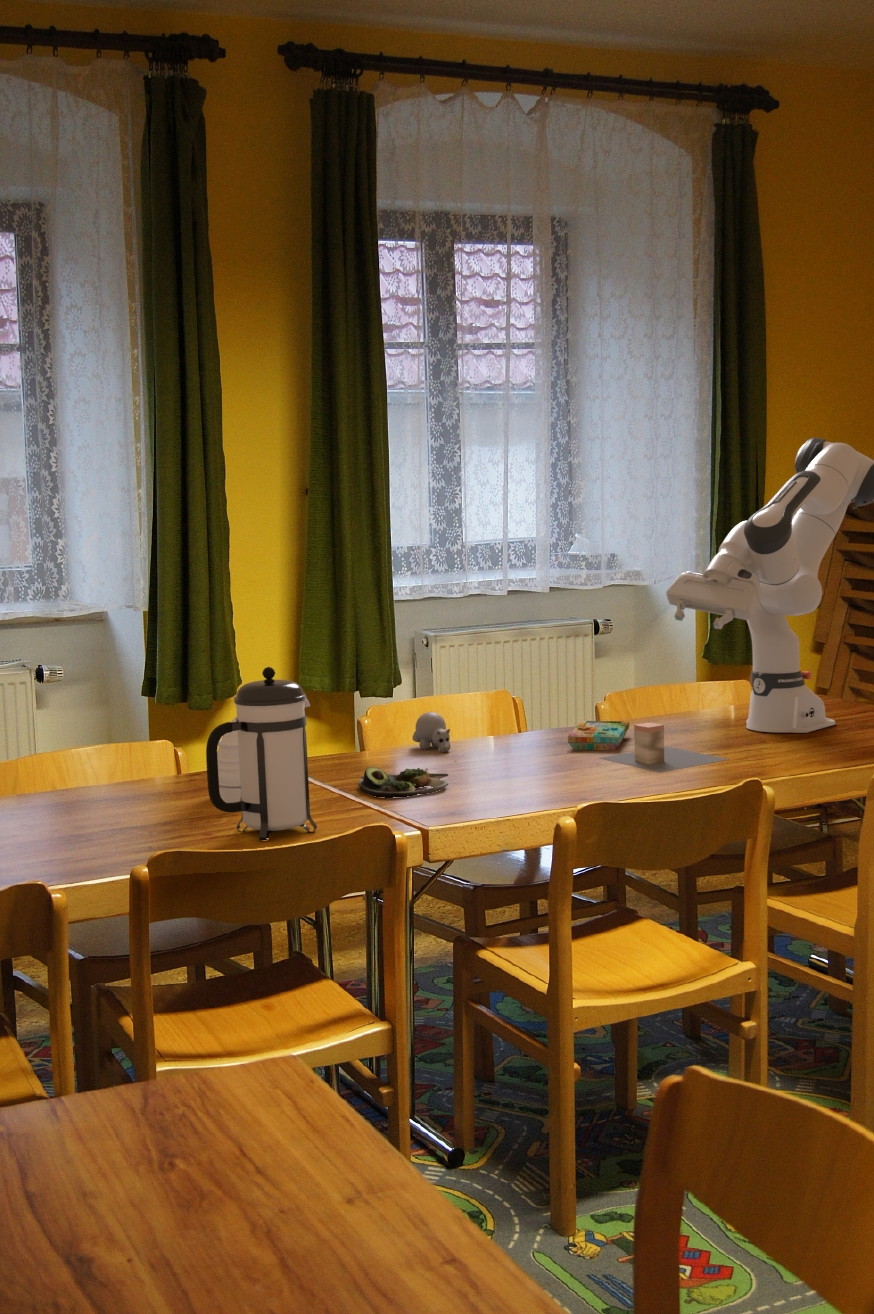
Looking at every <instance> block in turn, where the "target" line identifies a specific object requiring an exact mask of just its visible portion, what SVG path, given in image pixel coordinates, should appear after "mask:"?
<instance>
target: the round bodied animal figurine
mask: <svg viewBox="0 0 874 1314" xmlns="http://www.w3.org/2000/svg"><path fill="white" fill-rule="evenodd" d="M446 725H447V724H446V721H445V719H444V717H443V716H441V714H439V713H437V712H435V711H429V712H425V713H422V714H421V715H420V716H419V717H418V718H417V721H416V722H415V730H414V732H413V734H412V740H413V741H414V742H415V743H419V744H418V745H419V748H420V749H421V750H426V751H427V750H429V749H430V748H431V747H433V748H436V749H439V750H440V752H442V753H448V752H449V751H450V750H451V742H450V739H451V736H450V732H451V729H450V728H449V729H448V728H447V726H446Z"/></svg>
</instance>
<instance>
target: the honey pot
mask: <svg viewBox="0 0 874 1314" xmlns="http://www.w3.org/2000/svg"><path fill="white" fill-rule="evenodd" d="M236 718H237V715H236V716H235V717H234V718H233V719H232V720H230V722H236ZM217 759H218V777H219V792H220V796H221V798H222V800H223V801H224V802H227V803H233V802H239V801H241V800H240V798H241V783H240V764H239V746H238V730H237V731H232V732H229V733H226V734H224V735H223V736H222V737H221V739H220V740H219V743H218V748H217Z"/></svg>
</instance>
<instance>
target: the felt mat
mask: <svg viewBox="0 0 874 1314" xmlns="http://www.w3.org/2000/svg"><path fill="white" fill-rule="evenodd" d="M599 759H600V760H605V761H608V762H609V761H610V762H613V763H616V764H617V763H618V764H620V765H621V764H623V765H627V766H629V767H630V766H631V767H635V768H639V769H643V770H647V771H652V772H656V773H664V772H665V773H666V772H671V771H676V770H680V769H687V768H692V767H697V766H702V765H708V764H712V763H719V762H723V761H728V760H730V759H729V758H724V757H720V756H716V755H715V756H714V755H710V754H705V753H700V752H696V751H690V750H686V749H681V748H676V747H672V746H667V745H666V746H665V745H664V761H663V762H658V763H652V764H646V763H641V762H637V761H635V751H632V752H631V751H630V752H625V753H620V754H614V755H609V756H603V757H599Z"/></svg>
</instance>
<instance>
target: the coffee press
mask: <svg viewBox="0 0 874 1314" xmlns="http://www.w3.org/2000/svg"><path fill="white" fill-rule="evenodd" d="M261 674H262V677H264V678H265V679H263V680H261V679H260V680H255V681H251V682H250V681H249V682H247V683H245V684H243V685H242V686H240V687H239V688H238V690H237V692H236V696H234V697H233V703H234V704H235V707H236V716H237V718H236V722H231V721H227V722H223V723H220V724H218V725H217V726H216V727H214V729H212V730H211V732H210V734H209V736H208V738H207V742H206V748H205V750H206V751H205V758H206V759H205V761H206V778H207V780H206V781H207V789H208V790H207V791H208V796H209V800H210V802H211V804H212V805H213V806H214V807H215V808H216V809H217V810H219V811H220V812H225V813H239V812H241V819H240V820H239V822H238V823H237V824H236V829H237V831H238V830H239V829H240V828H242V827H241V823H242V822H243V824H244V825H245V826H246V827H244V828H243V829H244V831H245V830H246V829H247V828H251V830H256V831H259V835H258V840H259V841H260V840H267V839H266V838H269V839H270V835H271V833H272V832H273V831H284V830H285V831H286V830H290V829H295V828H298V827H300V828H301V827H302V828H303V829H304V830H305V831H307V832H308V831H309V830H310V829H311V827H309V826H308V825H306V824H305V823H306V822H308V821H309V823H310V825H311V826H312V827H313V831H314V832H316V831H317V829H318V826H317V824H316V823H315V821H314V819H313V818H312V817H311V806H310V804H311V803H310V783H309V766H308V765H309V764H308V747H307V746H308V744H307V742H308V741H307V731H306V726H307V715H306V713H305V708H310V707H311V704H310V701H309V700H308V698H307V694H306V693H305V692H304V689H303V688H302V686H301V685H300V684H298V683H297V682H295V681H292V680H288V679H275V678H274V677H275V675H276V672H275V669H274V668H273V667H271V666H267V667H265V668H264V669H263V670H262V673H261ZM237 730H238V746H239V764H240V783H241V798H240V800H241V801H239V802H233V803H226V802H224V801H223V800H222V798H221V796H220V792H219V777H218V759H217V752H218V748H219V746H218V743H219V740H220V739H222V737H223V735H224V734H226V733H229V732H232V731H237ZM315 830H316V831H315Z"/></svg>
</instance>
